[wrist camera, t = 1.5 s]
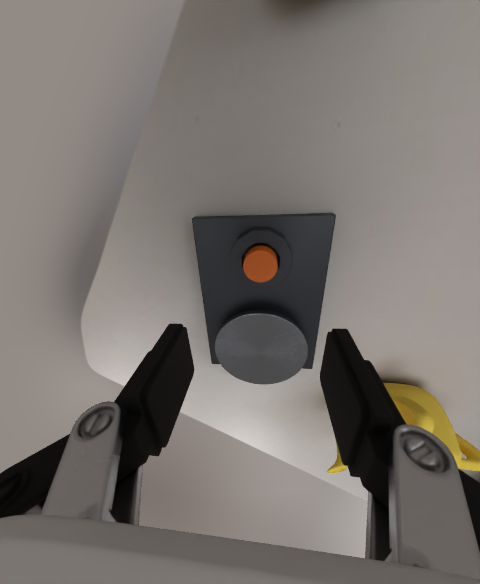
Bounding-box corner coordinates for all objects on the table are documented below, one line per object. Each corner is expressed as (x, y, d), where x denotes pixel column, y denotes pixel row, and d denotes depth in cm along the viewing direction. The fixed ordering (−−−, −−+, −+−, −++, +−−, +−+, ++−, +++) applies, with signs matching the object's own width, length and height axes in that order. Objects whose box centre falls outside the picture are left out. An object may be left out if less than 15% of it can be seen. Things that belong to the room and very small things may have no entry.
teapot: (360, 437, 37) (390, 520, 28) (310, 398, 34) (327, 478, 25) (444, 404, 31) (516, 495, 22) (394, 354, 28) (455, 436, 19)
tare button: (245, 275, 22) (243, 282, 21) (244, 245, 21) (242, 250, 20) (276, 275, 22) (276, 282, 21) (277, 244, 21) (278, 250, 19)
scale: (213, 357, 32) (208, 373, 29) (195, 216, 23) (185, 221, 20) (310, 362, 30) (314, 379, 28) (332, 212, 21) (342, 217, 19)
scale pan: (219, 376, 29) (218, 381, 29) (211, 308, 24) (210, 312, 24) (302, 381, 28) (303, 387, 28) (311, 310, 23) (313, 314, 22)
